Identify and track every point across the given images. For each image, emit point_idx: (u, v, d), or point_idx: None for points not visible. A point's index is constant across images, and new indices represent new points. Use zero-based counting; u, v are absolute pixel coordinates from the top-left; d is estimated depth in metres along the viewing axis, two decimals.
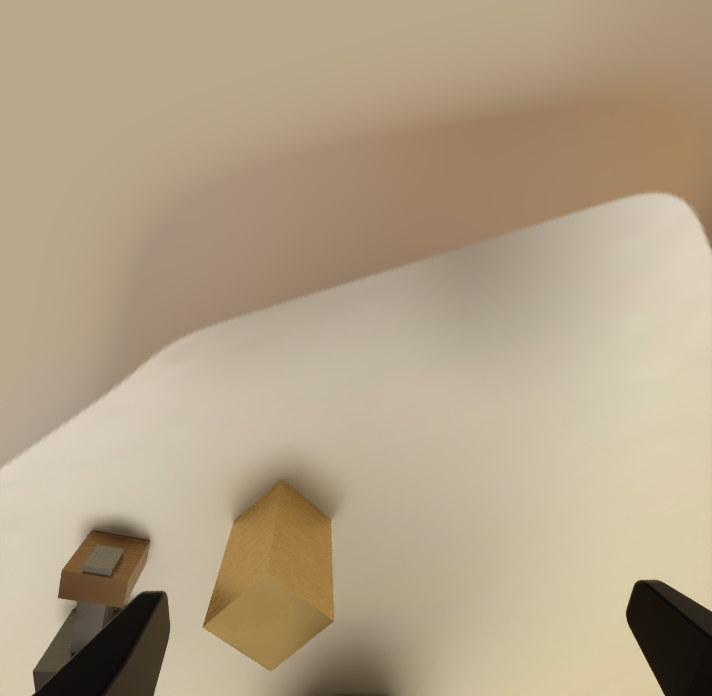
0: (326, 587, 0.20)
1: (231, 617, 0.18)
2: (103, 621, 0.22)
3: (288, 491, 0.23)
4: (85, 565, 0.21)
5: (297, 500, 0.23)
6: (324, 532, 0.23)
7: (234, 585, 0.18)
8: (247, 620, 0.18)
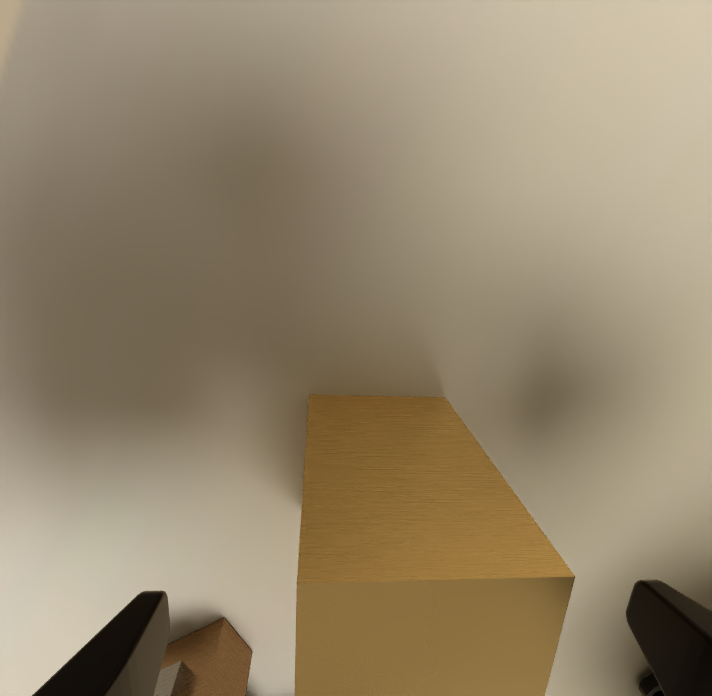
0: (502, 509, 0.07)
1: None
2: None
3: (330, 402, 0.11)
4: None
5: (356, 405, 0.11)
6: (440, 419, 0.11)
7: None
8: None
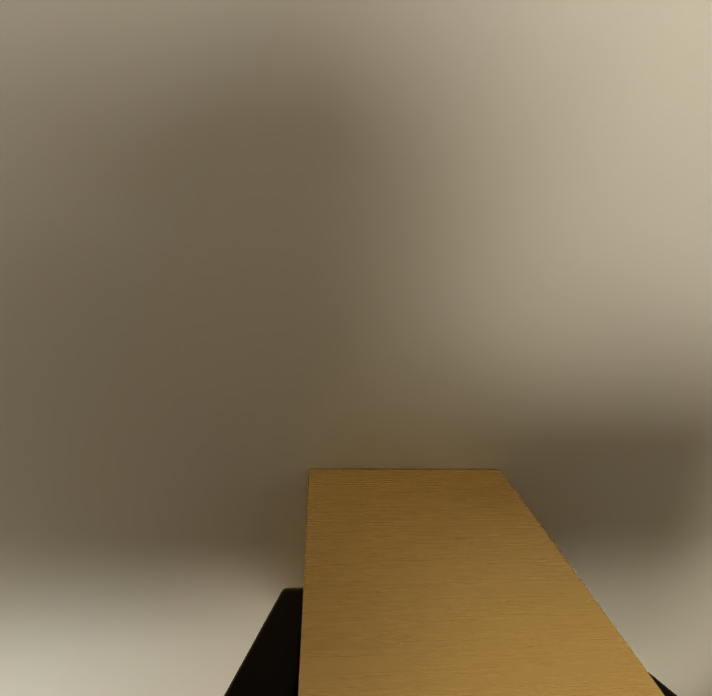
0: None
1: None
2: None
3: (339, 484, 0.08)
4: None
5: (378, 489, 0.08)
6: (504, 517, 0.07)
7: None
8: None
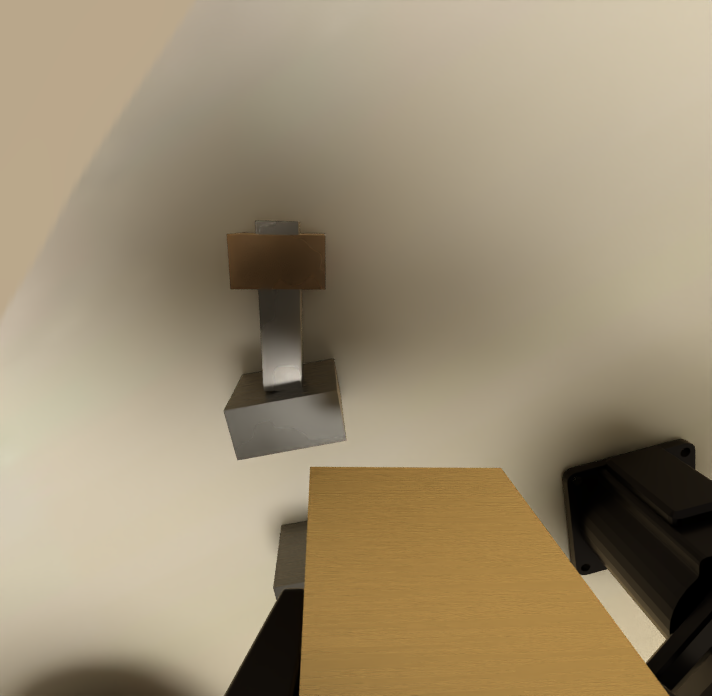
0: None
1: None
2: (300, 326, 0.15)
3: (340, 482, 0.08)
4: (258, 221, 0.13)
5: (378, 486, 0.08)
6: (505, 514, 0.07)
7: None
8: None
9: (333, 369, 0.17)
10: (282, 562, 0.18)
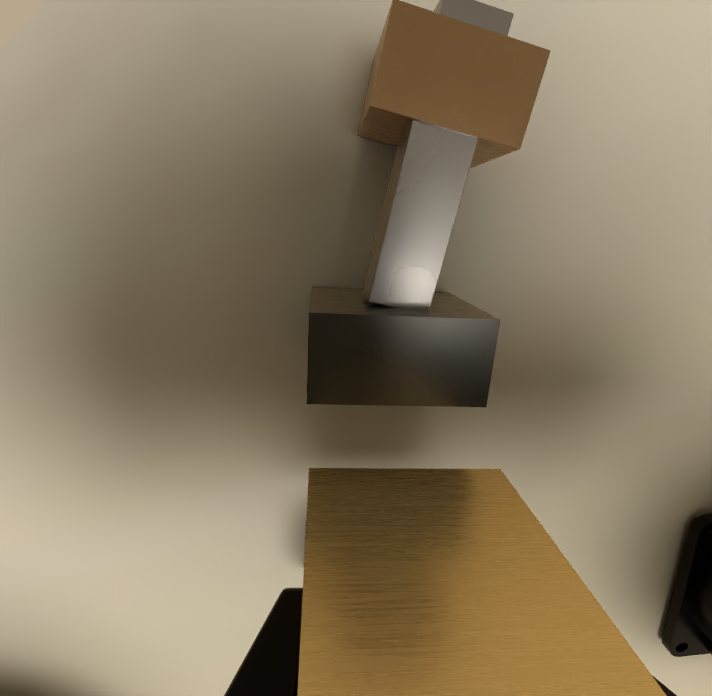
0: None
1: None
2: (457, 205, 0.09)
3: (339, 483, 0.08)
4: None
5: (377, 488, 0.08)
6: (504, 516, 0.07)
7: None
8: None
9: (462, 301, 0.11)
10: None
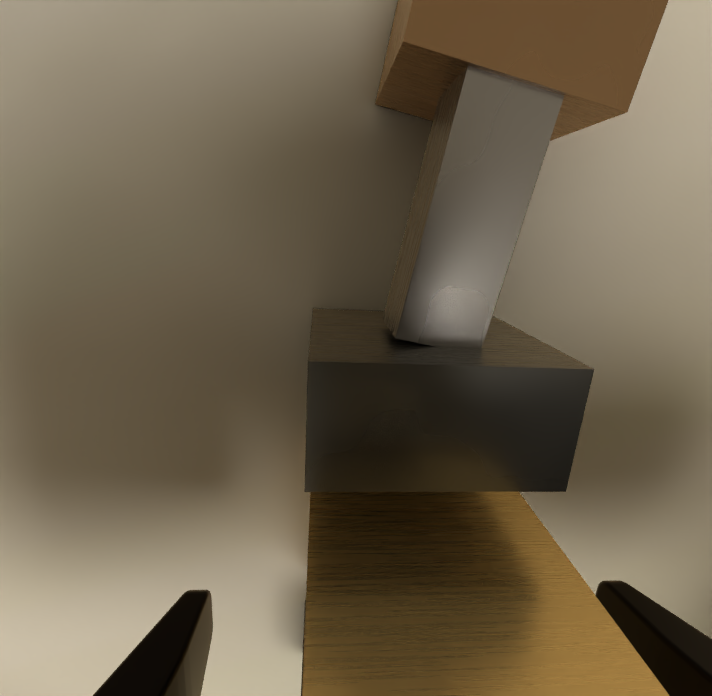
0: (583, 624, 0.05)
1: None
2: (528, 198, 0.06)
3: None
4: None
5: None
6: None
7: None
8: None
9: (518, 330, 0.08)
10: None
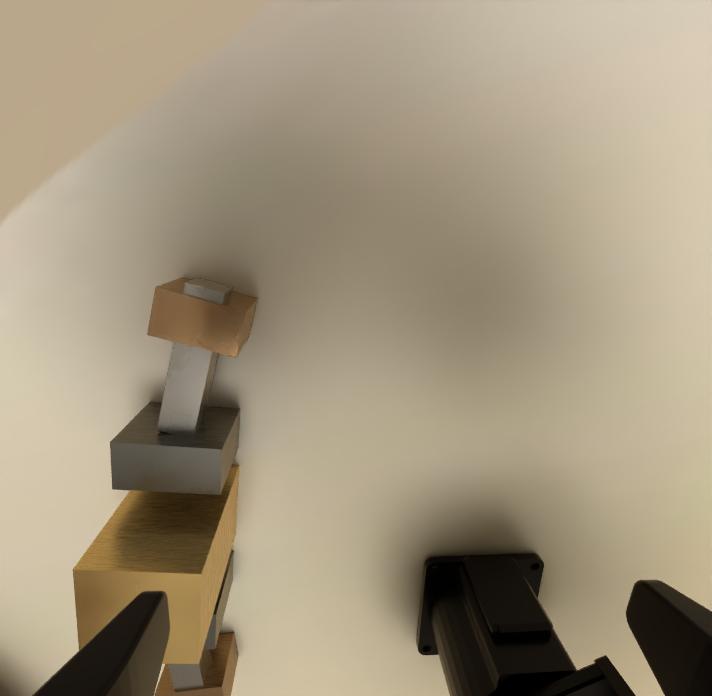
0: (200, 541, 0.15)
1: None
2: (205, 382, 0.16)
3: None
4: (188, 283, 0.15)
5: None
6: None
7: None
8: None
9: (232, 422, 0.18)
10: None
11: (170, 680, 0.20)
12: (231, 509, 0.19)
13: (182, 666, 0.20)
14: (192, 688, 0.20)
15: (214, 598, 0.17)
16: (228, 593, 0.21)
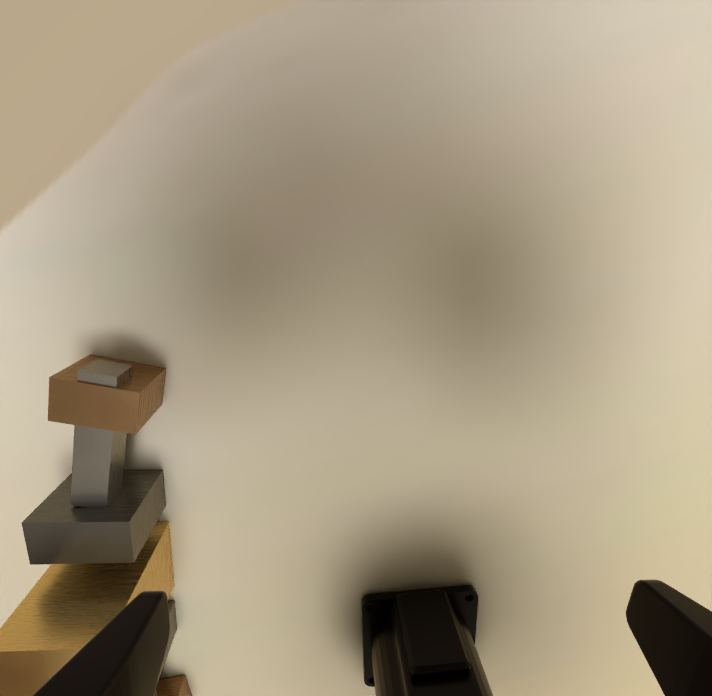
0: (110, 611, 0.16)
1: None
2: (111, 458, 0.17)
3: None
4: (80, 371, 0.15)
5: None
6: (145, 543, 0.19)
7: None
8: None
9: (149, 487, 0.18)
10: None
11: None
12: (160, 566, 0.20)
13: None
14: None
15: None
16: (170, 642, 0.22)
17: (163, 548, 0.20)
